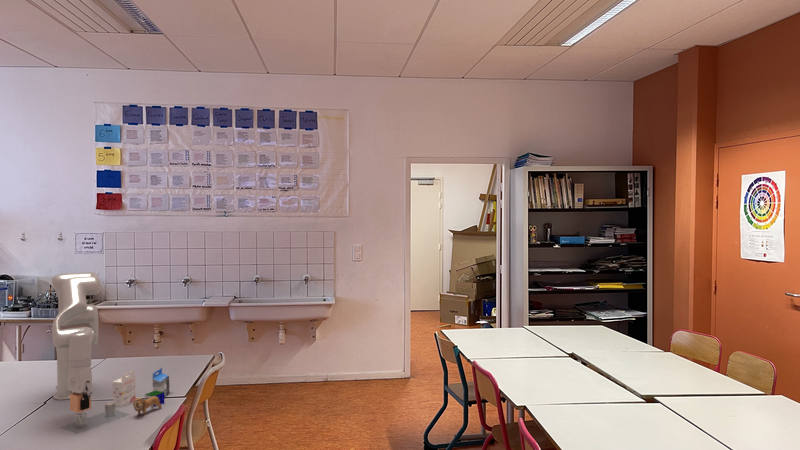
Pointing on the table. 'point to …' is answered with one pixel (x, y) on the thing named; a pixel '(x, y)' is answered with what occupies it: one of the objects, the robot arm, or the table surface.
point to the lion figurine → (145, 404)
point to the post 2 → (109, 409)
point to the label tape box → (161, 382)
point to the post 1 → (80, 419)
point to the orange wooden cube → (77, 402)
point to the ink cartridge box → (124, 389)
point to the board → (94, 422)
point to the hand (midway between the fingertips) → (80, 407)
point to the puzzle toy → (157, 394)
